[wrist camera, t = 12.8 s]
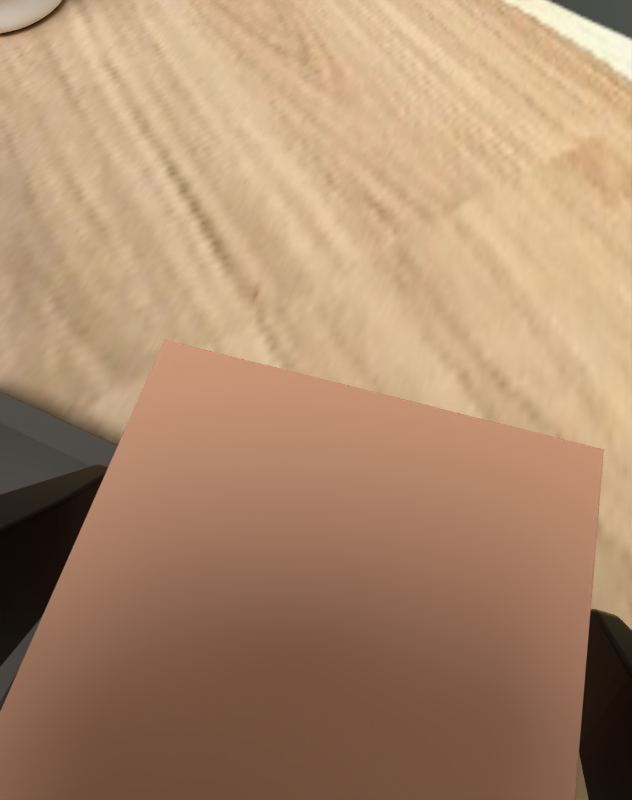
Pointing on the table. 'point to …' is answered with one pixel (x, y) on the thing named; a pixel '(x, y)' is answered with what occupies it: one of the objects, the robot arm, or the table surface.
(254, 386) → the block
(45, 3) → the jar
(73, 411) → the table surface
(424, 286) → the table surface
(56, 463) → the tray
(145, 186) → the table surface
